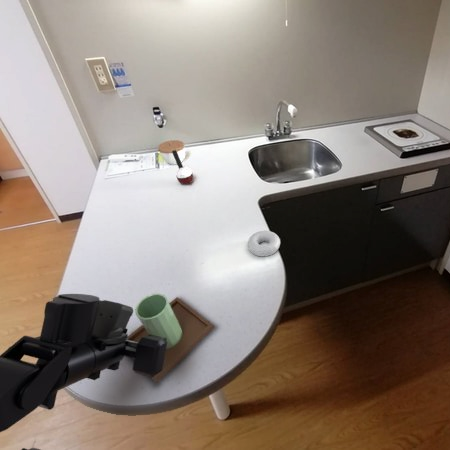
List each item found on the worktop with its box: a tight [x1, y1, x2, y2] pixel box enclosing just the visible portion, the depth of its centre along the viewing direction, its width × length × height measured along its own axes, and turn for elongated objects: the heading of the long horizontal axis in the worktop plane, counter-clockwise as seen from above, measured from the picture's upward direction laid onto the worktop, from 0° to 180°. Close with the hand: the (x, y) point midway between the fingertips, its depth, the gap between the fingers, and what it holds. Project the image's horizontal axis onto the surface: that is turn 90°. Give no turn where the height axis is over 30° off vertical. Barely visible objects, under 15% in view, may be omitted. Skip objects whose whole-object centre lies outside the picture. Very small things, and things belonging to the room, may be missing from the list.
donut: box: [247, 230, 281, 257], centre depth 94 cm, size 10×3×10 cm
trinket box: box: [157, 139, 186, 166], centre depth 134 cm, size 11×11×9 cm
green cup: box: [134, 292, 183, 349], centre depth 67 cm, size 6×6×12 cm
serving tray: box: [127, 297, 214, 384], centre depth 71 cm, size 16×14×2 cm
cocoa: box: [172, 150, 194, 186], centre depth 120 cm, size 10×6×12 cm, turn 14°
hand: (145, 335), depth 63 cm, fingers open, 9 cm apart
